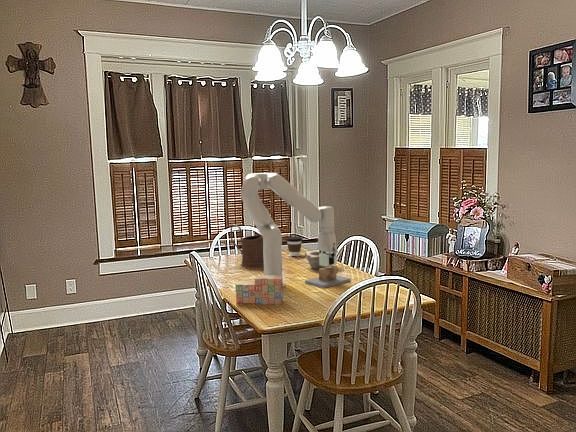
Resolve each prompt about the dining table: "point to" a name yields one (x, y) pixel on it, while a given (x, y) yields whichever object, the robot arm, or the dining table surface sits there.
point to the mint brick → (326, 259)
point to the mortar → (314, 259)
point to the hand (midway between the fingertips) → (327, 263)
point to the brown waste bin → (251, 250)
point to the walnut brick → (327, 274)
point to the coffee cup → (294, 245)
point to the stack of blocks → (261, 290)
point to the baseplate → (328, 283)
